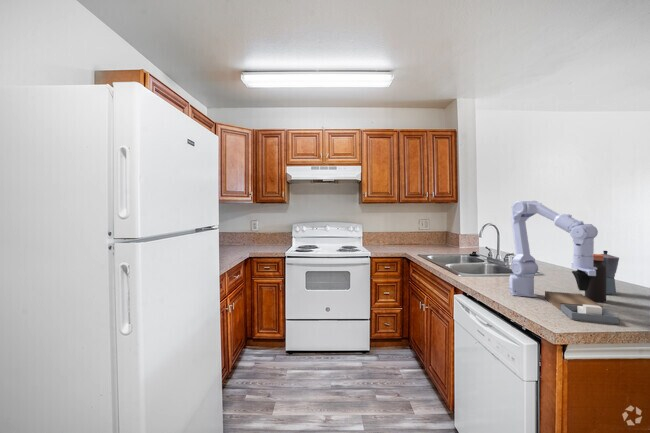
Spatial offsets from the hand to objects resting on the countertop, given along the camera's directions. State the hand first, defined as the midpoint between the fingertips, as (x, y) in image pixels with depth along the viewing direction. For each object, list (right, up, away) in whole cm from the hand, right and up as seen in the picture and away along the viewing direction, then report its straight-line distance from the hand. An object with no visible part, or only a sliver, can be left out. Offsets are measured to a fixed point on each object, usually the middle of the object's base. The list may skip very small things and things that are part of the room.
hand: (582, 290), depth 109 cm
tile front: (-3, -6, -6) cm, 9 cm away
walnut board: (+2, -8, +8) cm, 11 cm away
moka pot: (+32, -8, +24) cm, 41 cm away
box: (-3, -9, -5) cm, 10 cm away
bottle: (+18, -8, +14) cm, 24 cm away
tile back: (-2, -8, -4) cm, 9 cm away
